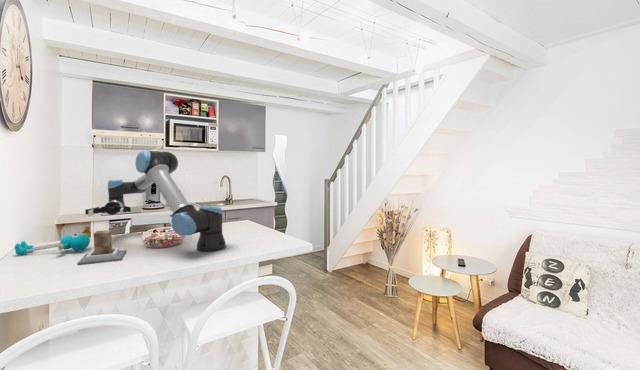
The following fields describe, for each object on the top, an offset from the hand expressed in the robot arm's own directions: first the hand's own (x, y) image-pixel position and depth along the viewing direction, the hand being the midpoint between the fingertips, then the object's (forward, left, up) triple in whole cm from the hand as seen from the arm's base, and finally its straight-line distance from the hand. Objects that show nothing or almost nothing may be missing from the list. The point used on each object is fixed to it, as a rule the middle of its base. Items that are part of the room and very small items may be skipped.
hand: (105, 212), depth 157 cm
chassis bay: (0, +10, -21) cm, 23 cm away
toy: (+24, -11, -21) cm, 34 cm away
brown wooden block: (0, +10, -20) cm, 22 cm away
